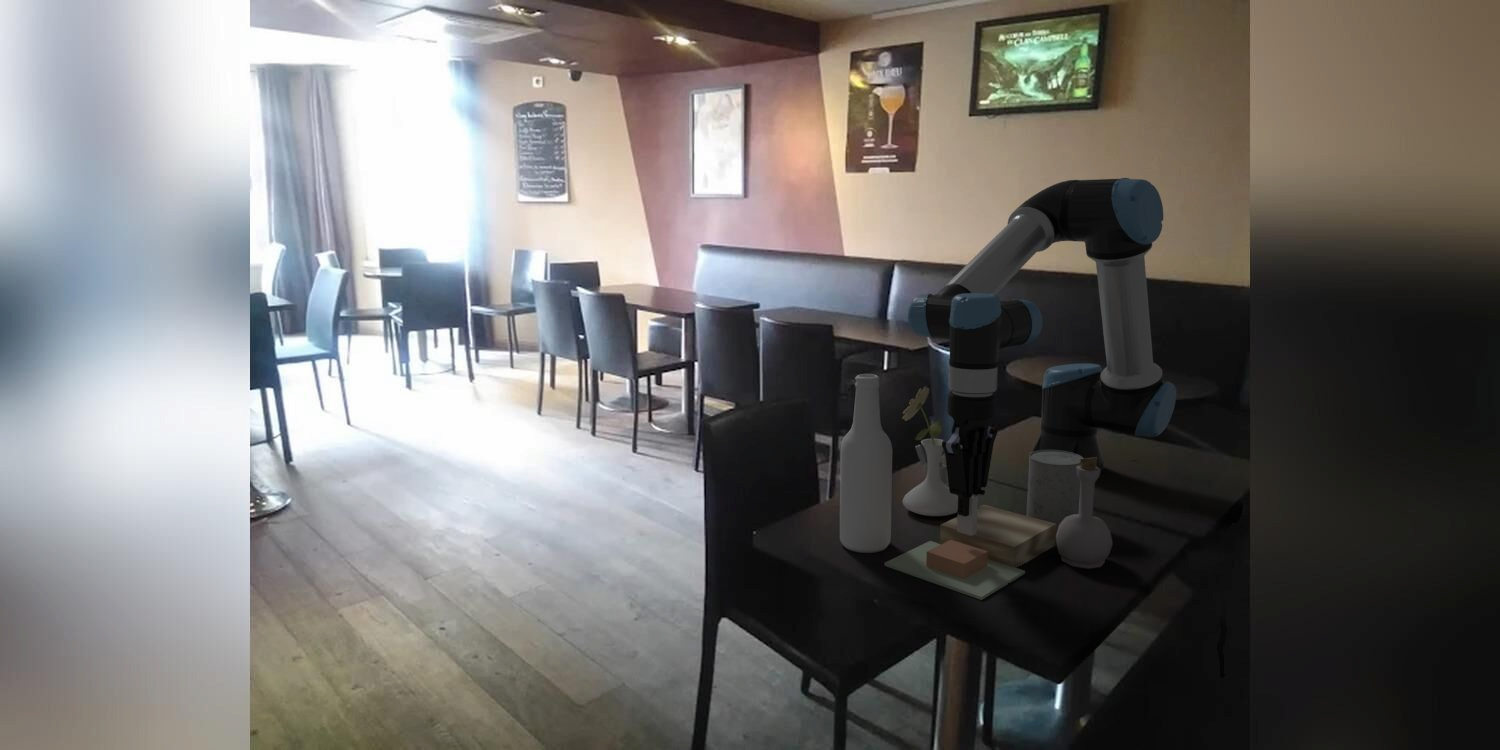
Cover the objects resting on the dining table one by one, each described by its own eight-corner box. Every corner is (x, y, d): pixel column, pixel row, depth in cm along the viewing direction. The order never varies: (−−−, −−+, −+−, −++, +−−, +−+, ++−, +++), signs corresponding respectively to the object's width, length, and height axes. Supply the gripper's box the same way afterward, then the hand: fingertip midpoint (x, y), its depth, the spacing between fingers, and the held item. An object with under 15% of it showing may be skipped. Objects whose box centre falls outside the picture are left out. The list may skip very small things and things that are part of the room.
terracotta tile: (950, 553, 147) (950, 539, 146) (987, 565, 142) (987, 551, 141) (926, 566, 142) (926, 551, 141) (963, 579, 137) (964, 564, 137)
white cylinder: (1083, 531, 157) (1088, 466, 154) (1028, 528, 159) (1031, 463, 156) (1075, 513, 166) (1079, 450, 164) (1023, 510, 168) (1026, 448, 166)
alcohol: (838, 534, 157) (839, 371, 151) (887, 534, 157) (890, 370, 151) (841, 554, 148) (842, 381, 142) (893, 554, 148) (897, 381, 142)
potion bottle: (1082, 575, 139) (1089, 466, 135) (1043, 555, 147) (1048, 452, 143) (1123, 565, 142) (1131, 459, 139) (1082, 546, 150) (1089, 445, 147)
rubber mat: (929, 543, 152) (930, 540, 152) (1024, 573, 140) (1025, 570, 140) (884, 565, 144) (884, 562, 143) (981, 600, 131) (981, 596, 131)
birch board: (982, 525, 161) (983, 504, 160) (1054, 545, 151) (1056, 523, 150) (939, 546, 151) (940, 524, 150) (1013, 570, 141) (1014, 546, 140)
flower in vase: (931, 497, 176) (935, 375, 171) (975, 513, 167) (980, 385, 162) (883, 510, 169) (885, 384, 164) (926, 528, 159) (930, 394, 154)
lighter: (946, 485, 183) (947, 448, 181) (941, 487, 182) (942, 450, 180) (919, 477, 188) (920, 442, 186) (914, 479, 187) (914, 443, 185)
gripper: (973, 382, 145) (968, 516, 150) (928, 395, 136) (924, 537, 141) (1014, 388, 140) (1007, 527, 145) (970, 402, 131) (964, 550, 136)
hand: (966, 532), depth 143 cm, fingers closed
